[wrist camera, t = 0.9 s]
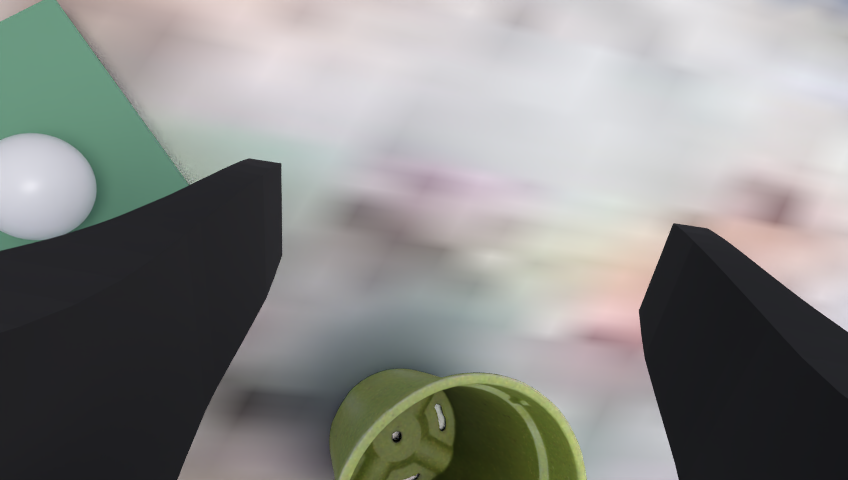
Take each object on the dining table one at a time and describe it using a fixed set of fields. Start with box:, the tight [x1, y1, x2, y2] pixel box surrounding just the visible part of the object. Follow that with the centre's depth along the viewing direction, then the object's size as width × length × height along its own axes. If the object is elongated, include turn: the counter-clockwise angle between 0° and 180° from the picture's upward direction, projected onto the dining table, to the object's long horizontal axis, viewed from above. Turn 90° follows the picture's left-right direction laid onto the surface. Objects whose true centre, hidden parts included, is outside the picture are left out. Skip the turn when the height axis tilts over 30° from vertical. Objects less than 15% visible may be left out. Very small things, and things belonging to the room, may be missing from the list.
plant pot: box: [329, 369, 587, 480], centre depth 25 cm, size 9×9×9 cm
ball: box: [0, 133, 97, 240], centre depth 21 cm, size 4×4×4 cm
